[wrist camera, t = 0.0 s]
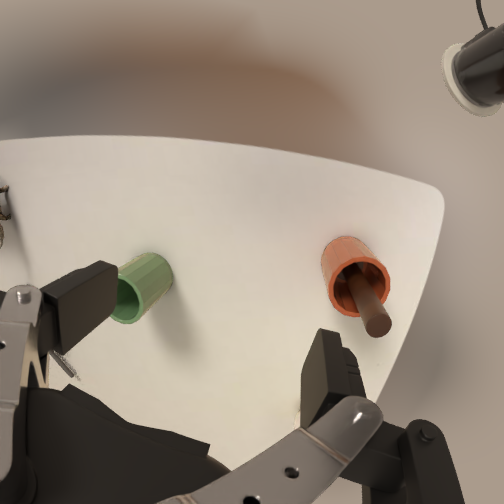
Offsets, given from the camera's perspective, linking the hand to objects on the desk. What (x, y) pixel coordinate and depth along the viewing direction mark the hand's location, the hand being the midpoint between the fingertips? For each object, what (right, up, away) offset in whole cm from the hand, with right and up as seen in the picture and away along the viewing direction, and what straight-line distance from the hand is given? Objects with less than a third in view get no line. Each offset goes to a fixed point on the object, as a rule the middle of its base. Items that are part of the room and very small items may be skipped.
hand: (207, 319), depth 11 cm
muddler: (+13, +1, +24) cm, 28 cm away
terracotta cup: (+13, +1, +25) cm, 28 cm away
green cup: (-12, -1, +29) cm, 32 cm away
